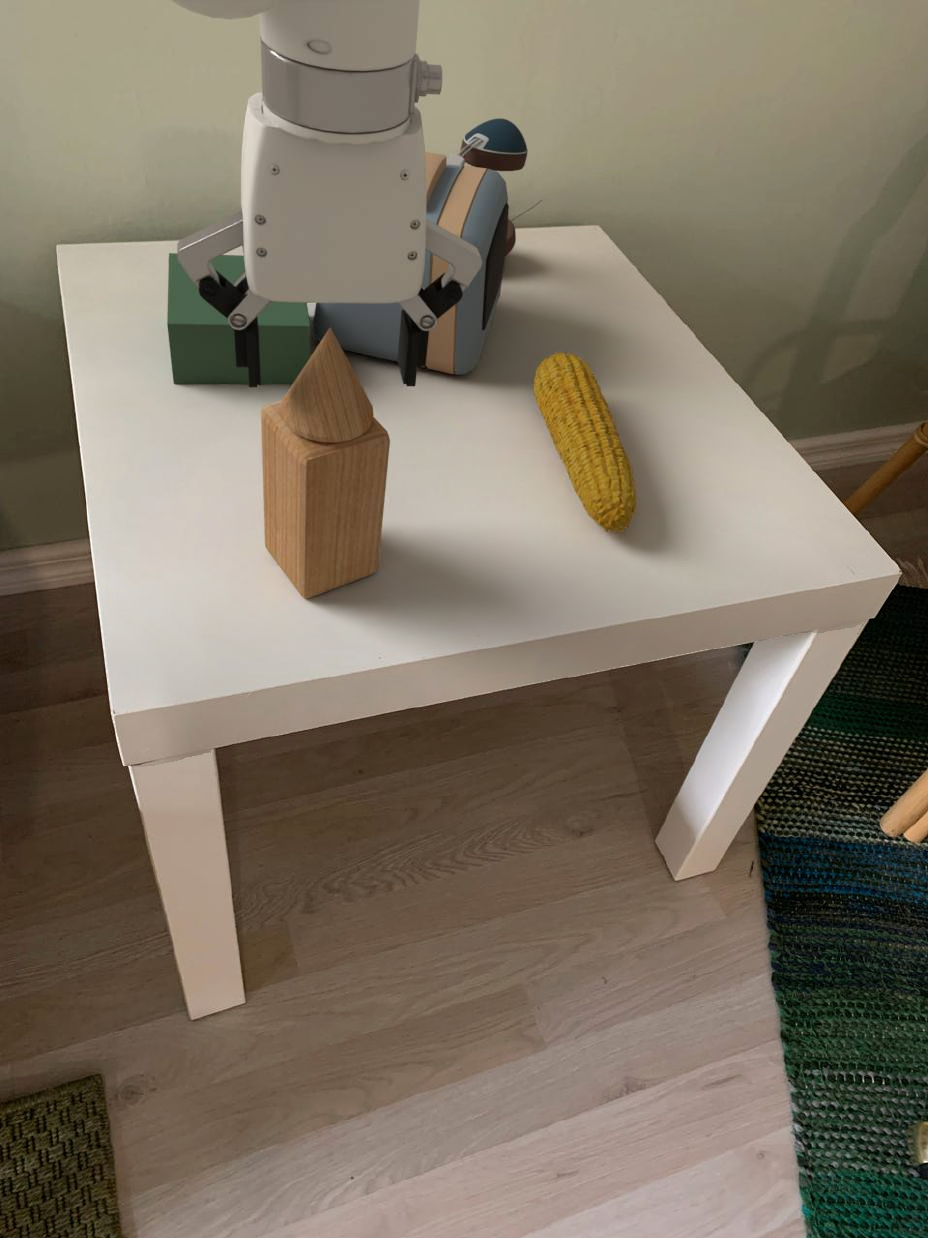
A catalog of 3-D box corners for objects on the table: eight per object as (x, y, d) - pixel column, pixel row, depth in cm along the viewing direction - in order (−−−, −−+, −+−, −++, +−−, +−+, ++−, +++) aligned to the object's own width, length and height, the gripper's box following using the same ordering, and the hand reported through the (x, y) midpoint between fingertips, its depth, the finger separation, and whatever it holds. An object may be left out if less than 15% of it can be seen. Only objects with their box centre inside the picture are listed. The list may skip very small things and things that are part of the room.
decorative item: (381, 574, 72) (403, 343, 58) (303, 604, 69) (306, 368, 55) (337, 521, 76) (348, 290, 61) (261, 547, 73) (253, 310, 58)
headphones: (517, 213, 114) (395, 289, 103) (534, 80, 102) (398, 150, 91) (559, 234, 112) (439, 314, 101) (582, 101, 100) (448, 175, 89)
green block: (173, 383, 85) (167, 323, 80) (174, 311, 92) (168, 252, 88) (309, 384, 87) (310, 325, 83) (299, 313, 95) (300, 256, 91)
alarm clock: (473, 387, 91) (500, 226, 79) (306, 350, 91) (309, 184, 79) (500, 303, 102) (527, 150, 90) (351, 270, 102) (359, 114, 90)
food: (521, 396, 91) (532, 341, 86) (576, 395, 92) (590, 341, 88) (587, 550, 77) (605, 494, 73) (651, 546, 79) (672, 491, 74)
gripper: (489, 66, 52) (453, 341, 65) (159, 44, 48) (190, 340, 61) (520, 124, 47) (475, 408, 60) (156, 104, 43) (190, 412, 56)
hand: (331, 374), depth 60 cm, fingers open, 9 cm apart
